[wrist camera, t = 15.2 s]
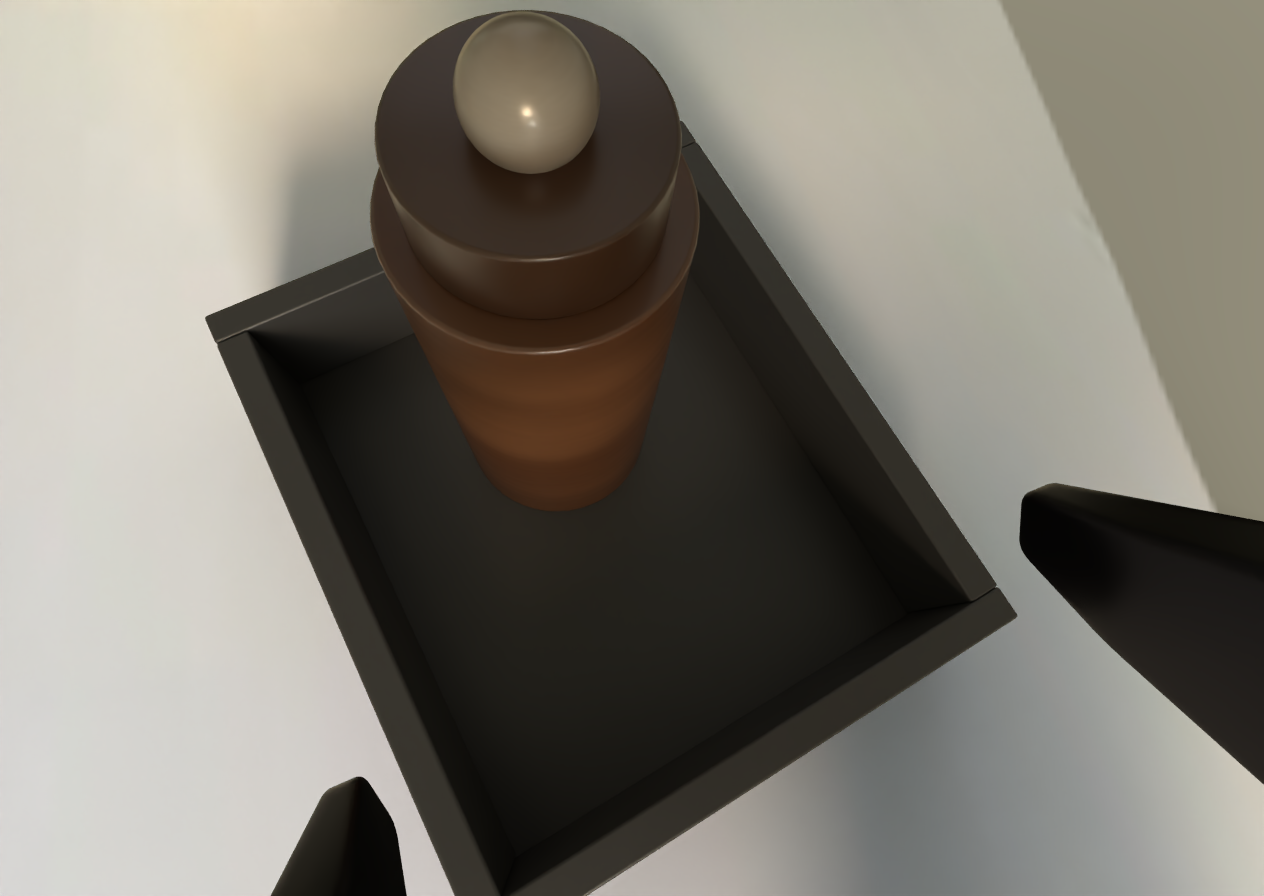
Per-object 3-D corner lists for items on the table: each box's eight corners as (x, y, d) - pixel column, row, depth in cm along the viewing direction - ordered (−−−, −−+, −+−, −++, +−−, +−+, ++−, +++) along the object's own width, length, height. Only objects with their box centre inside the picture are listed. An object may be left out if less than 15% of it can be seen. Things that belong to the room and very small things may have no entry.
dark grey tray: (937, 627, 20) (1019, 616, 17) (503, 901, 18) (483, 963, 14) (666, 207, 24) (682, 119, 20) (270, 380, 21) (202, 316, 17)
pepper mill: (634, 522, 20) (728, 256, 7) (456, 501, 20) (234, 192, 7) (651, 360, 22) (753, -93, 9) (486, 340, 22) (347, -154, 9)
